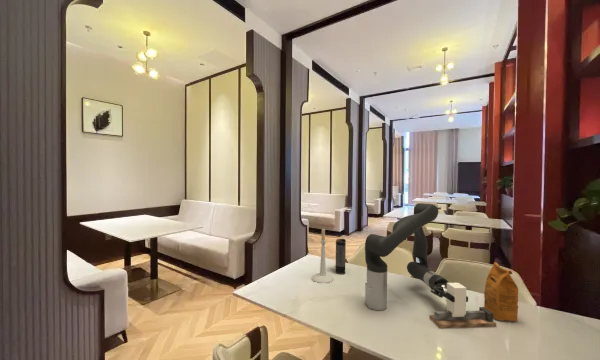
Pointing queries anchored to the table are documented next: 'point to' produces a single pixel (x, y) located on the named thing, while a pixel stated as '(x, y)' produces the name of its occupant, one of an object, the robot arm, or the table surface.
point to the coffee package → (501, 294)
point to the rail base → (463, 319)
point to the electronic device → (340, 256)
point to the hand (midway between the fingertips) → (460, 299)
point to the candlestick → (322, 265)
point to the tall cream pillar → (456, 299)
